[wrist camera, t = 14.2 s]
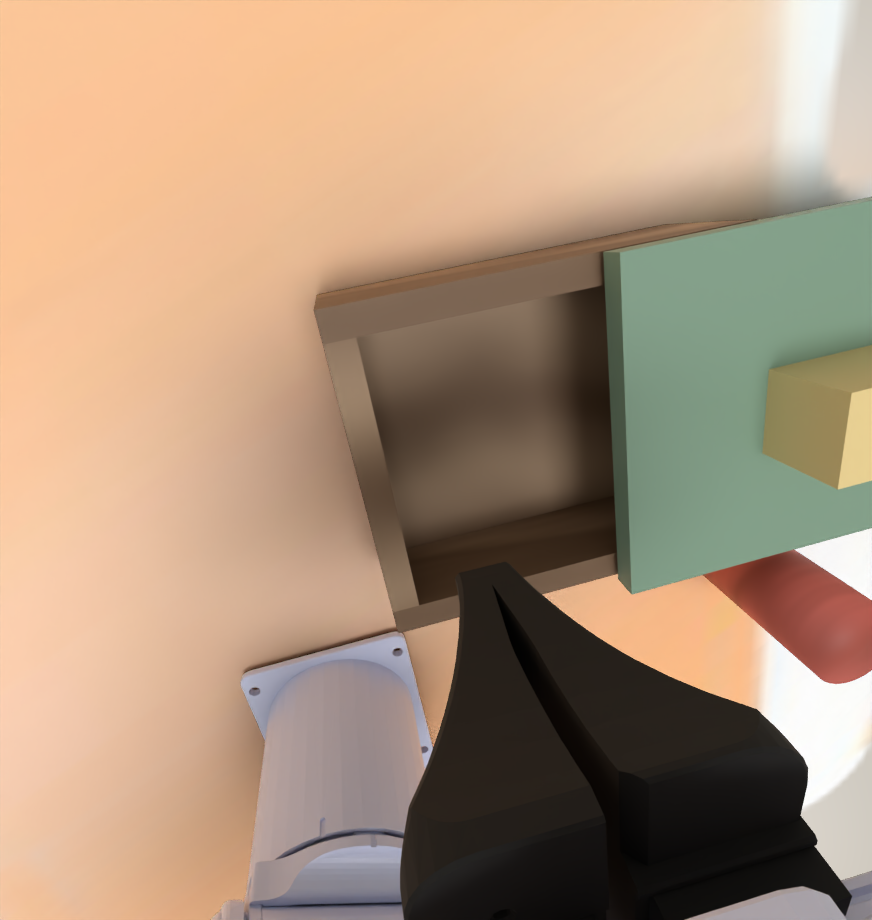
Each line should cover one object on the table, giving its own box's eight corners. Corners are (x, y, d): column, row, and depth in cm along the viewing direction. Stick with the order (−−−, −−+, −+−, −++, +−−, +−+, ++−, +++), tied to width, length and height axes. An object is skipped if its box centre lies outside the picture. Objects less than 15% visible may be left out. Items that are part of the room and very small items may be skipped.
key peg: (747, 562, 29) (889, 669, 22) (686, 578, 29) (809, 693, 21) (751, 504, 27) (905, 598, 20) (687, 521, 27) (820, 623, 20)
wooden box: (665, 489, 26) (737, 541, 22) (385, 561, 25) (398, 633, 20) (665, 224, 21) (757, 219, 17) (316, 294, 20) (313, 310, 15)
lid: (933, 492, 22) (1052, 542, 18) (618, 579, 21) (680, 650, 17) (1006, 169, 17) (1187, 149, 14) (603, 251, 16) (684, 254, 12)
